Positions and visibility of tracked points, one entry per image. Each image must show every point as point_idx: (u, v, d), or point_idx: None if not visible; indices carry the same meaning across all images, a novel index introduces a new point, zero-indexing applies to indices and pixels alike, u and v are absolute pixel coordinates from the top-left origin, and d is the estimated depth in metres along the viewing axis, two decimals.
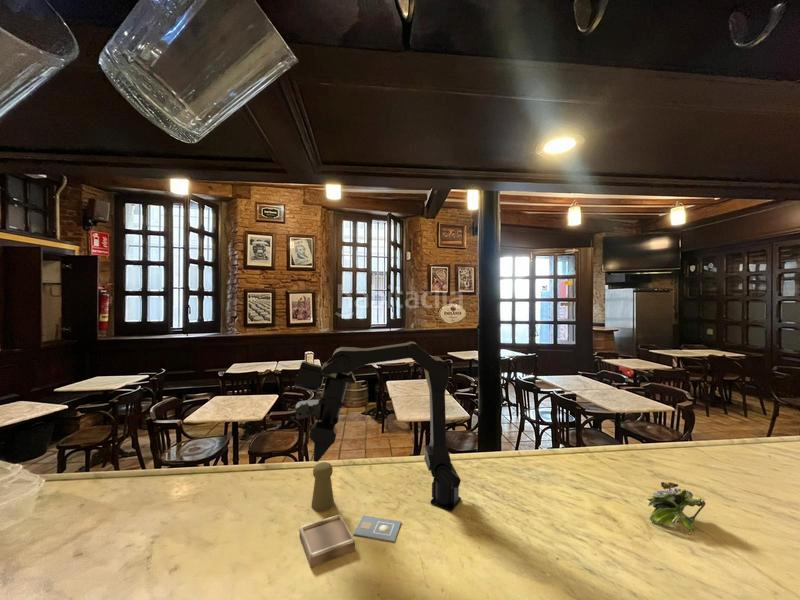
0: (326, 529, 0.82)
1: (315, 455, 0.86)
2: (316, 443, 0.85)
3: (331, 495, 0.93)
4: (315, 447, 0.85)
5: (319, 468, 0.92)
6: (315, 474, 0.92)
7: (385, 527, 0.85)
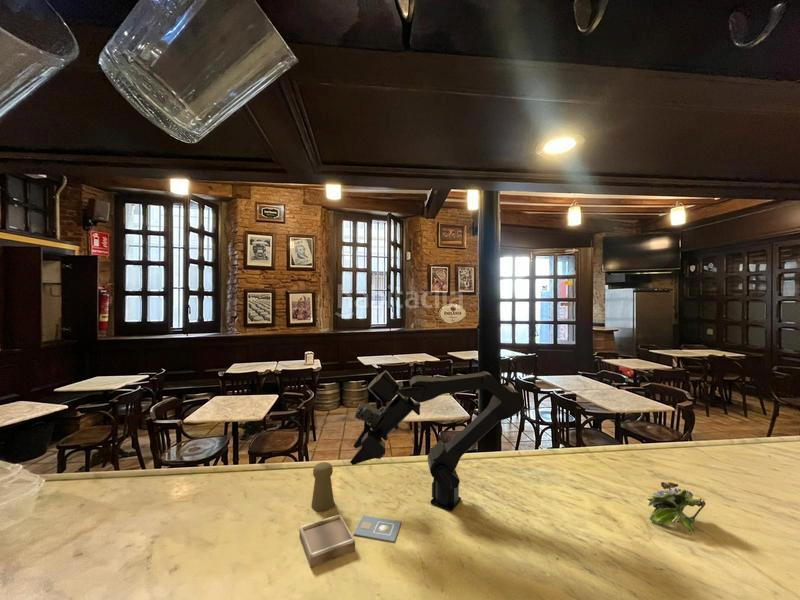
0: (326, 529, 0.82)
1: (354, 458, 0.89)
2: (362, 449, 0.88)
3: (331, 495, 0.93)
4: (359, 452, 0.88)
5: (319, 468, 0.92)
6: (315, 474, 0.92)
7: (385, 527, 0.85)
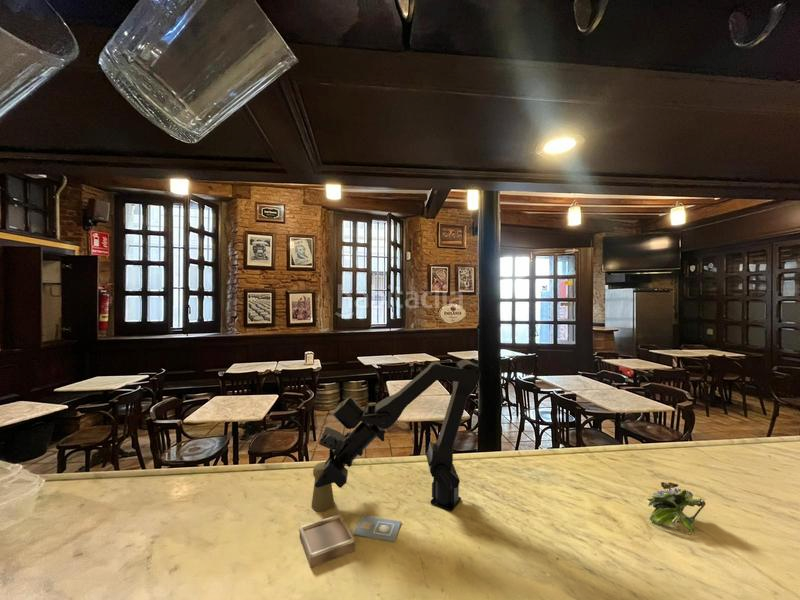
0: (326, 529, 0.82)
1: (318, 481, 0.91)
2: None
3: (331, 495, 0.93)
4: (323, 475, 0.90)
5: (319, 468, 0.92)
6: (315, 474, 0.92)
7: (385, 527, 0.85)
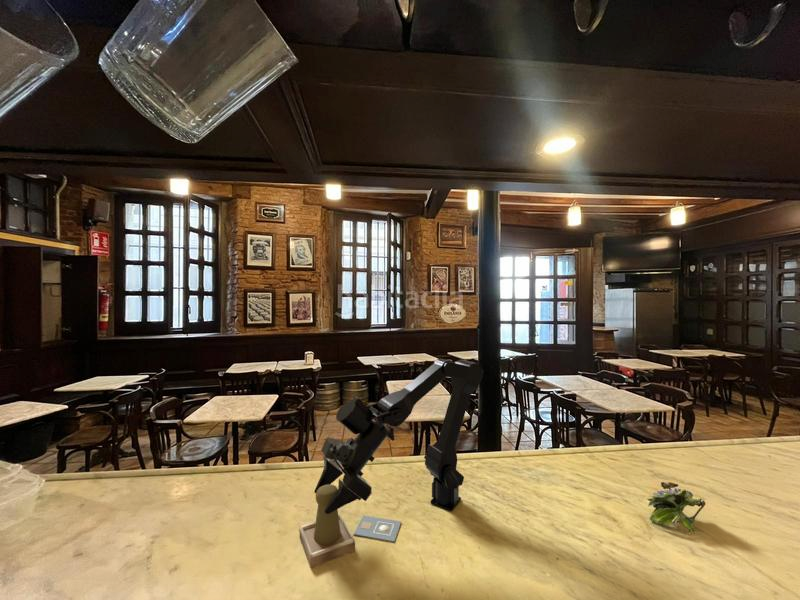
0: None
1: (330, 506, 0.75)
2: (341, 493, 0.75)
3: (338, 521, 0.80)
4: (337, 497, 0.75)
5: (327, 493, 0.78)
6: (323, 501, 0.77)
7: (385, 527, 0.85)
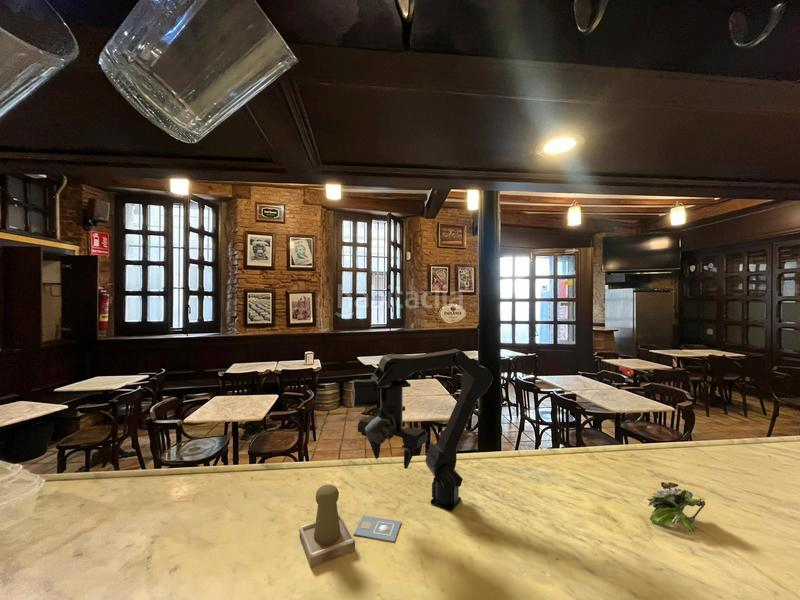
0: None
1: (407, 462, 0.87)
2: None
3: (338, 521, 0.80)
4: (408, 455, 0.87)
5: (326, 493, 0.78)
6: (322, 501, 0.77)
7: (385, 527, 0.85)
